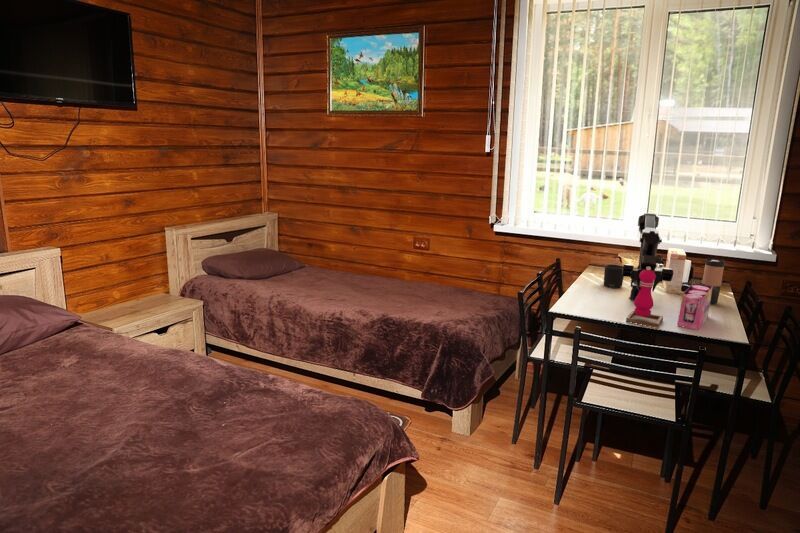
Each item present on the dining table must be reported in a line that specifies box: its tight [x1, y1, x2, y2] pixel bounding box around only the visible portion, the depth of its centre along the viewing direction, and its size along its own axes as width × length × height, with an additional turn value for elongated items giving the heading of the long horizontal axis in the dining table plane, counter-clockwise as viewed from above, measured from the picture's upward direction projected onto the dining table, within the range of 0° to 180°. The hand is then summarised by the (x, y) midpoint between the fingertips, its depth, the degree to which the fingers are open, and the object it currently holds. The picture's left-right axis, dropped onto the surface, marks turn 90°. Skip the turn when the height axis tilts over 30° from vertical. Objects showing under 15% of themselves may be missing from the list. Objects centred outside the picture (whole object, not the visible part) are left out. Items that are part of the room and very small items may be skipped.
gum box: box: [676, 282, 713, 331], centre depth 227 cm, size 24×8×14 cm, turn 143°
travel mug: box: [701, 257, 726, 305], centre depth 255 cm, size 8×8×20 cm
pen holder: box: [603, 264, 625, 289], centre depth 279 cm, size 9×9×10 cm
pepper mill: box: [633, 266, 656, 316], centre depth 225 cm, size 7×7×20 cm
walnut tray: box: [625, 310, 664, 329], centre depth 227 cm, size 12×12×2 cm
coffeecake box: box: [662, 247, 687, 295], centre depth 276 cm, size 15×7×20 cm, turn 159°
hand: (645, 290), depth 223 cm, fingers closed on pepper mill, 5 cm apart
